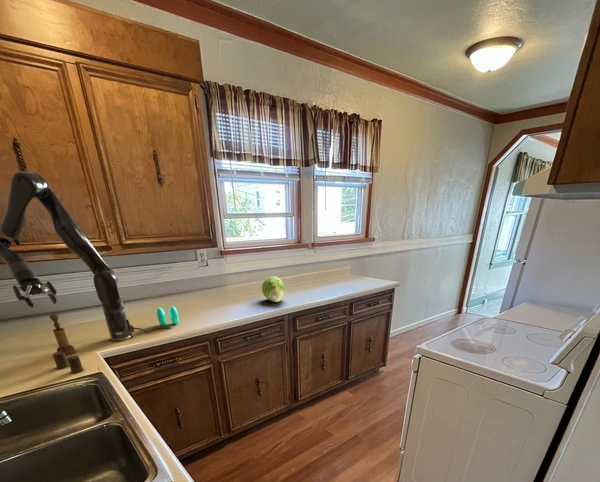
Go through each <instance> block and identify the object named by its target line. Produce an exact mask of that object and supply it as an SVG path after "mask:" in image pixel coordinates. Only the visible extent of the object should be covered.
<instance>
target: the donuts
mask: <svg viewBox="0 0 600 482" xmlns="http://www.w3.org/2000/svg"><path fill="white" fill-rule="evenodd" d="M168 311H169V312H168V314H169V318H170V321H171V323H172V324H174V325H178V324H179V322H180V319H179V314H178V310H177V308H176V307H175V306H170V307H169V310H168ZM156 317H157V320H158V323H159V325H160V326H161V327H165V326H166V325H167V316H166V312H165V311H164V309H163V308H161V307H158V308H156Z"/></svg>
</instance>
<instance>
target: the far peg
mask: <svg viewBox="0 0 600 482" xmlns="http://www.w3.org/2000/svg"><path fill="white" fill-rule="evenodd" d="M66 359H67V361H68V364H69V366H68V367H69V369H70V372H71V373H72V374H79V373H82V372H83V371H84V367H83V365H82V362H81V359H80V355H77V354H76V355H75V354H74V355H68V356H66Z"/></svg>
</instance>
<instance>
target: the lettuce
mask: <svg viewBox="0 0 600 482" xmlns="http://www.w3.org/2000/svg"><path fill="white" fill-rule="evenodd" d="M285 290H286V288H285V284H284V283H283V281H282V279H281V278H280V277H278V276H275V275H273V276H268V277H267V278H265V279H264V281H262V285H261V292H262V294H263V295H264V297H265V298H266V299H267V300H268V301H270V302H273V303H278V302H280V301H281V300H282V299H283V298H284V295H285Z"/></svg>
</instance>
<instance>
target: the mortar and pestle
mask: <svg viewBox="0 0 600 482" xmlns="http://www.w3.org/2000/svg"><path fill="white" fill-rule="evenodd" d="M49 319H50V320H51V321H52V322H53V327H54V328H55V329H52V332H53V334H54V337H55V339H56V343H57V345H58V347H57V349H56V352H64V353H65V356H70V355H73V354H74V353H76V349H75V348H74V346H73V345H72V344H70V343H69V340H68V337H67V334H66V331H65V329H64V327H61V324H60V322H58V321H59V315H58V314H57V313H50V315H49Z"/></svg>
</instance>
